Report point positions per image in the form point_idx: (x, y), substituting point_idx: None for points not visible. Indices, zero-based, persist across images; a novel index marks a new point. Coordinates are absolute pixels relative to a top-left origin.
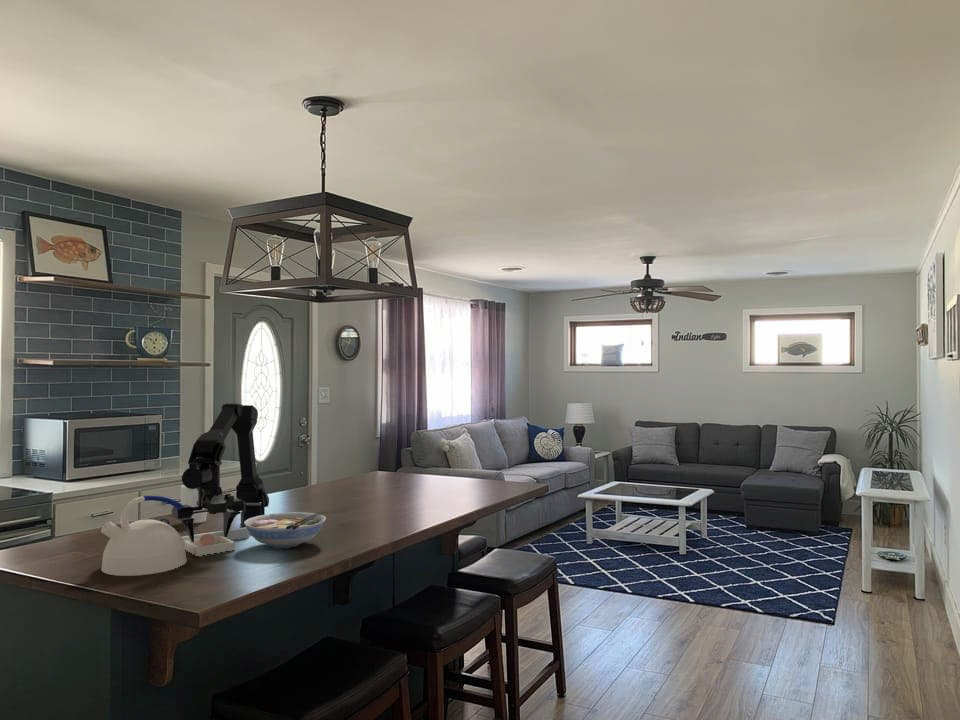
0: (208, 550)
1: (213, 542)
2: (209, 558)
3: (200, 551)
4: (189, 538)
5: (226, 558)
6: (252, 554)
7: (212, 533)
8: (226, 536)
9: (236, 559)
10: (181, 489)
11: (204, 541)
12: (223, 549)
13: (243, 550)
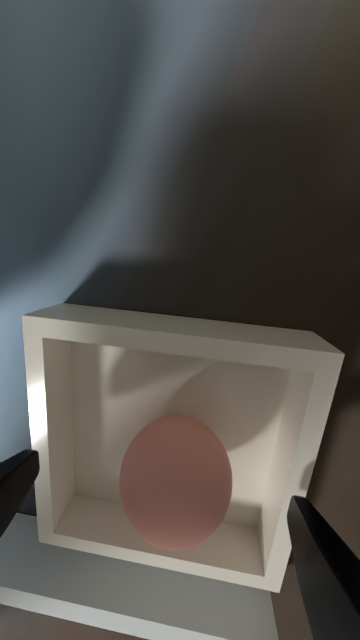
0: (235, 331)
1: (148, 426)
2: (277, 225)
3: (298, 338)
4: (215, 616)
5: (191, 126)
6: (4, 105)
7: (68, 597)
8: (28, 450)
9: (150, 24)
10: None
11: (217, 452)
12: (127, 315)
13: (18, 269)
